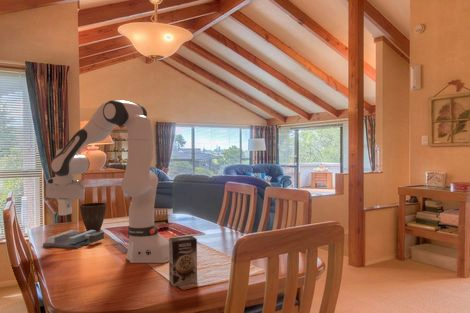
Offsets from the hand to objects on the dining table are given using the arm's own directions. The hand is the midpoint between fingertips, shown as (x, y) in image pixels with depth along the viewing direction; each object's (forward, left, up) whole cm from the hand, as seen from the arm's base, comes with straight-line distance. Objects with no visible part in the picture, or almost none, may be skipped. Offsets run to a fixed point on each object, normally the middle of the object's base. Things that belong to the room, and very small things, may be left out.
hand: (65, 207), depth 183 cm
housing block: (0, 0, -4) cm, 4 cm away
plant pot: (+7, -33, -20) cm, 39 cm away
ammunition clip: (-30, -46, -20) cm, 58 cm away
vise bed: (+1, -7, -20) cm, 21 cm away
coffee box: (-78, +34, -20) cm, 87 cm away
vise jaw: (-9, -7, -18) cm, 21 cm away
